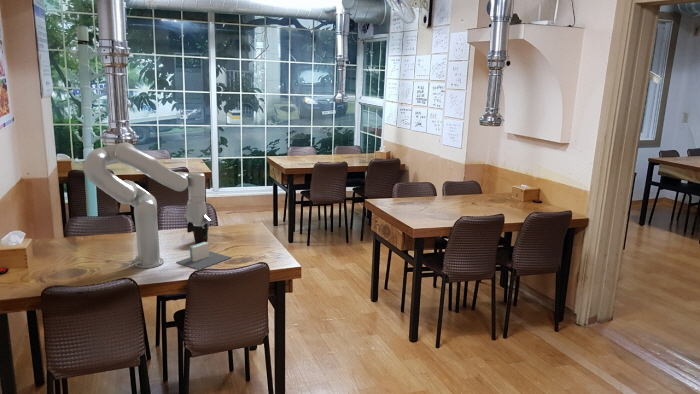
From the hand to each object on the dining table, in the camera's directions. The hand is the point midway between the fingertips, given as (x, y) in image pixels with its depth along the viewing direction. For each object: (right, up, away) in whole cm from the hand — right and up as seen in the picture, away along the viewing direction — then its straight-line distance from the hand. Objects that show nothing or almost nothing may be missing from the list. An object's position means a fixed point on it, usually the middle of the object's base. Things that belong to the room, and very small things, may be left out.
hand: (197, 233), depth 248 cm
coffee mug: (-6, -6, +30) cm, 31 cm away
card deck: (0, -12, +3) cm, 12 cm away
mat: (+3, -13, +2) cm, 13 cm away
